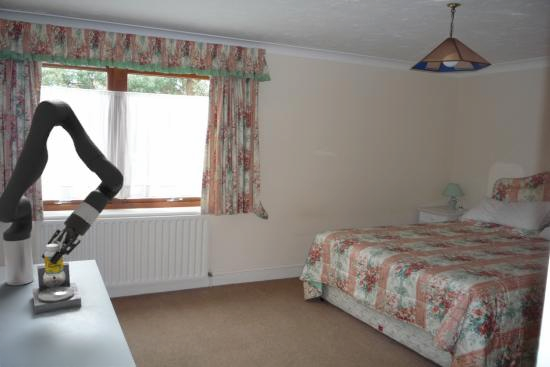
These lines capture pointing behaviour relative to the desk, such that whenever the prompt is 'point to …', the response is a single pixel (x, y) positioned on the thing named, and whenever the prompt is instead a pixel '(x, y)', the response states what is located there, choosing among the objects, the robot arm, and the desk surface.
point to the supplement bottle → (49, 267)
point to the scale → (55, 292)
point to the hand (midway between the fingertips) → (48, 260)
